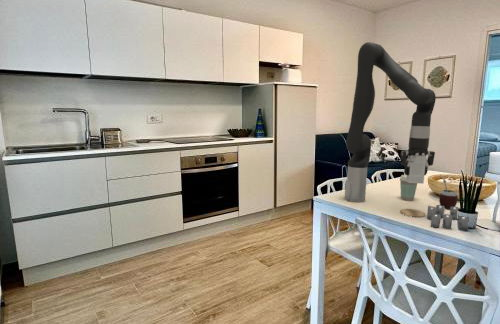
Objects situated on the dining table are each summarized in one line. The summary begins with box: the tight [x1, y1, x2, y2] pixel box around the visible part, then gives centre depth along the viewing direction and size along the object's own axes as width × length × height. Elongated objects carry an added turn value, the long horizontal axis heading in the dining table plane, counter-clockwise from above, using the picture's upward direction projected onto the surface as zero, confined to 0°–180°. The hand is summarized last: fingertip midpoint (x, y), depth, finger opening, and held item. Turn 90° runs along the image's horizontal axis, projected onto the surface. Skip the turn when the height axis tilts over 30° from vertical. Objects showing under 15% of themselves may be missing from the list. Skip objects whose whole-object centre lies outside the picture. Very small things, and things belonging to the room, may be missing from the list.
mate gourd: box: [439, 173, 458, 211], centre depth 146 cm, size 8×8×15 cm
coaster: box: [399, 208, 426, 218], centre depth 138 cm, size 10×10×1 cm
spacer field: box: [426, 204, 478, 232], centre depth 126 cm, size 20×17×5 cm
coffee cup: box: [399, 174, 418, 202], centre depth 159 cm, size 9×8×12 cm
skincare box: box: [406, 155, 427, 185], centre depth 135 cm, size 6×4×12 cm
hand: (415, 174), depth 135 cm, fingers closed on skincare box, 7 cm apart
